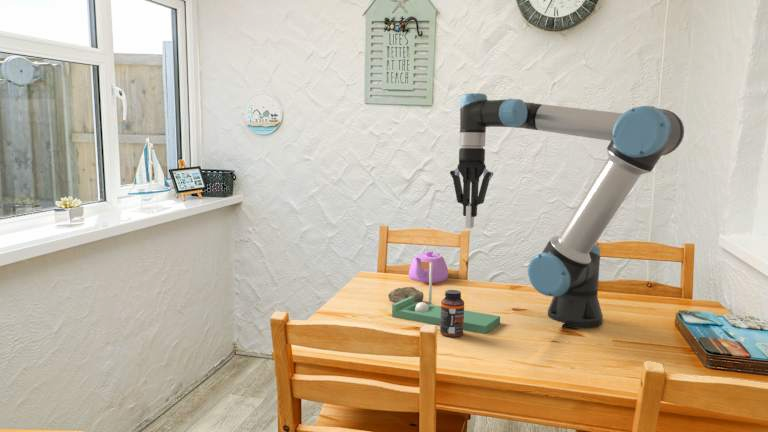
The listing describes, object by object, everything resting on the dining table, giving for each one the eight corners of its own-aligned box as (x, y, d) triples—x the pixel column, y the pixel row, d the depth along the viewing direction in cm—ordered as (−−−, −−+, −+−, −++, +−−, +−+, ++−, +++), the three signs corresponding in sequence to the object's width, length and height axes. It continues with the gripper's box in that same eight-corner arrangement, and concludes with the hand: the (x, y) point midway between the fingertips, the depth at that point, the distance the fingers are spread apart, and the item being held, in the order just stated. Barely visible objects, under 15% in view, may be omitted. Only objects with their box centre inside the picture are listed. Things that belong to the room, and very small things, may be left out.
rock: (384, 303, 180) (384, 288, 179) (408, 297, 188) (408, 283, 187) (403, 308, 175) (403, 293, 174) (426, 302, 183) (427, 288, 182)
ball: (431, 301, 169) (418, 300, 171) (425, 304, 165) (412, 303, 167) (431, 315, 169) (419, 313, 171) (425, 318, 165) (412, 317, 167)
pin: (436, 309, 175) (437, 262, 173) (432, 312, 172) (433, 264, 171) (422, 307, 177) (423, 260, 176) (417, 309, 175) (419, 262, 173)
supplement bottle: (457, 339, 148) (458, 295, 147) (436, 335, 151) (437, 292, 150) (466, 333, 153) (468, 290, 152) (446, 329, 156) (447, 287, 155)
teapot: (398, 285, 205) (398, 254, 204) (422, 274, 223) (422, 245, 221) (433, 290, 199) (434, 258, 197) (455, 279, 216) (456, 249, 215)
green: (499, 323, 162) (500, 310, 162) (485, 333, 153) (485, 320, 153) (410, 307, 177) (410, 296, 176) (392, 316, 167) (392, 304, 167)
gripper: (497, 147, 172) (494, 227, 175) (456, 147, 179) (454, 224, 182) (488, 147, 166) (485, 230, 169) (446, 147, 172) (444, 227, 175)
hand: (469, 227), depth 175 cm, fingers closed
